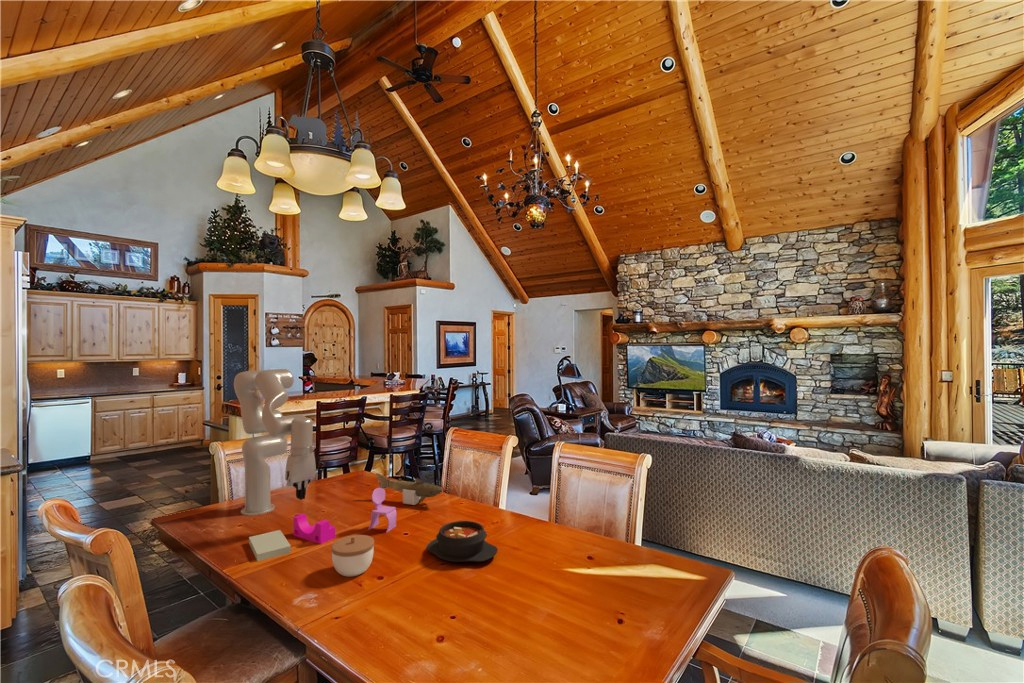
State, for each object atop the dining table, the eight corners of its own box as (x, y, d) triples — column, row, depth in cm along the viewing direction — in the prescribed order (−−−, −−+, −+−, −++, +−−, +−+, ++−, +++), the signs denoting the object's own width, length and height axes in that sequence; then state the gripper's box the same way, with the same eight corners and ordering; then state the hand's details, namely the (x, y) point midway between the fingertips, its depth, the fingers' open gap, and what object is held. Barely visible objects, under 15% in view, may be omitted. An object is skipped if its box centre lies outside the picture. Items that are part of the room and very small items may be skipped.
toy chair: (386, 533, 170) (386, 493, 170) (366, 530, 173) (366, 491, 173) (398, 525, 178) (398, 487, 178) (379, 522, 180) (379, 485, 180)
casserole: (507, 549, 157) (506, 525, 157) (481, 574, 140) (480, 547, 140) (445, 536, 167) (445, 513, 167) (414, 558, 150) (414, 533, 150)
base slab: (249, 546, 161) (249, 537, 161) (280, 539, 167) (280, 529, 167) (257, 565, 147) (257, 554, 147) (290, 556, 153) (290, 545, 153)
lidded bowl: (382, 566, 145) (382, 531, 145) (356, 586, 133) (356, 548, 133) (349, 560, 149) (349, 526, 149) (322, 579, 137) (322, 542, 137)
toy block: (335, 539, 166) (335, 518, 166) (320, 545, 161) (320, 524, 161) (308, 531, 173) (308, 511, 173) (293, 537, 168) (293, 517, 168)
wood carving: (382, 493, 215) (382, 470, 215) (447, 502, 202) (447, 477, 202) (370, 499, 207) (370, 475, 207) (436, 509, 194) (436, 483, 194)
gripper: (314, 445, 181) (314, 490, 181) (276, 452, 169) (276, 501, 169) (325, 448, 177) (324, 495, 177) (287, 456, 165) (286, 506, 165)
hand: (300, 498), depth 173 cm, fingers closed
